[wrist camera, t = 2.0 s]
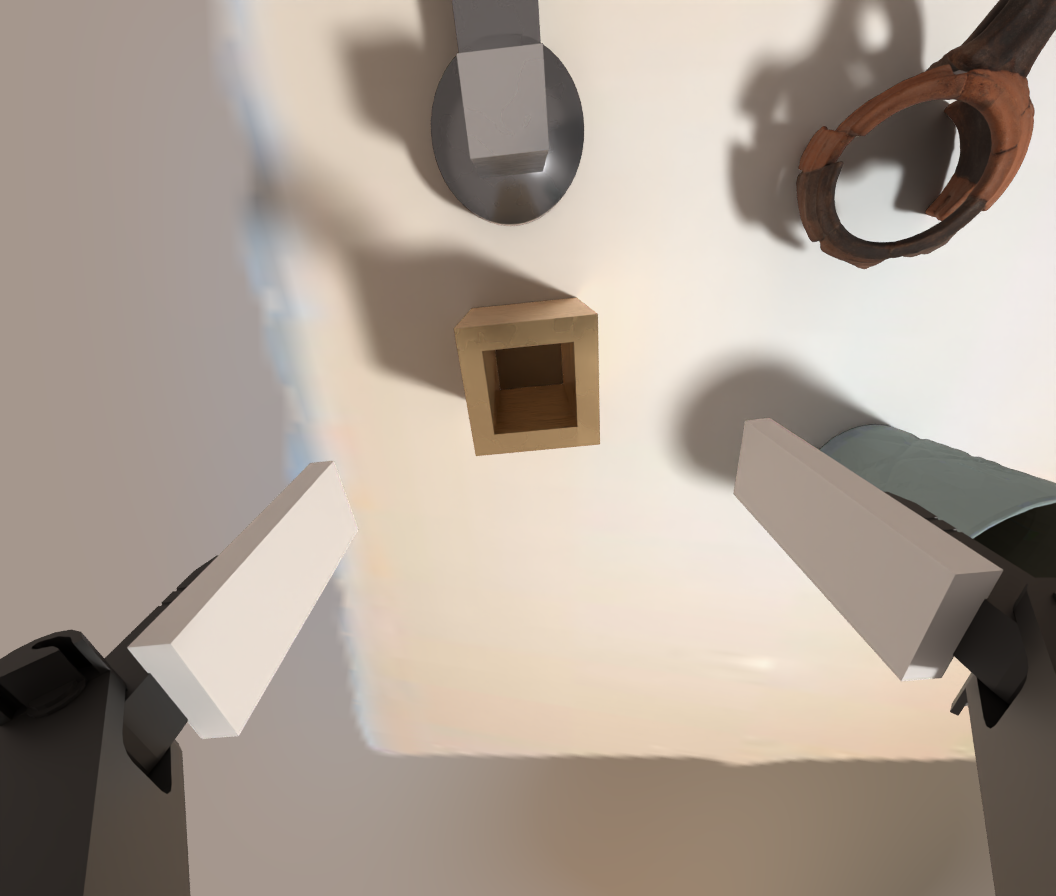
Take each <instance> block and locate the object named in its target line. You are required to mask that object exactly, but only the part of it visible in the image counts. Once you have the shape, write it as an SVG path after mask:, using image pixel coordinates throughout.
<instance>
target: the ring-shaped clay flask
mask: <svg viewBox="0 0 1056 896" xmlns="http://www.w3.org/2000/svg"><path fill="white" fill-rule="evenodd" d="M1055 30H1056V0H999V2H998V3H997V4H996V5H995V6H994V8H993V9H992V10H991V11H990V12H989V14H988V15H987V16H986V17H985V18H984V20H983V21H982V22H981V23H980V24H979V26H978V27H977V28H976V29H975V31H974V32H973V33H972V34H971V35H970V36H969V38H968V39H967V40H966V41H965V42H964V43H963V44H962V45H961V46H960V47H957V48H955V49H953V50H951V51H949V52H948V53H947V54H945V55H944V56H943V58H942V59H940V60H939V61H938V62H935V63H933V64H932V65H931V66H930V68H928V69H927V70H926V71H925V72H923V73H921V74H919V75H917V76H914V77H911V78H909V79H906V80H904V81H902V82H900V83H898V84H896V85H895V86H893V87H891V88H890V89H888V90H886V91H884V92H883V93H881V94H880V95H878V96H876V97H874V98H873V99H871V100H869V101H868V102H866V103H865V104H864V105H862V106H861V107H859V108H858V109H857V110H856V111H854V112H853V113H852V114H851V115H850V116H849V117H848V118H846V119H845V120H844V121H843V122H842V123H841V124H840V125H839V127H838V128H837V129H836V130H835V131H834V130H828V129H827V127H826V126H823V127H821V129H820V130H818V131H817V132H816V133H815V134H814V136H813V137H812V139H811V140H810V142H809V144H808V145H807V147H806V149H805V151H804V153H803V154H802V156H801V159H800V165H799V167H798V168H799V169H800V170H802V172H801V173H800V174H799V175H798V178H797V181H796V186H797V200H798V208H799V213H800V217H801V220H802V224H803V226H804V229H805V230H806V233H807V235H808V237H809V239H810V240H811V241H812V242H816V241H819V242H820V248H821V250H822V251H823V252H825V253H826V254H828V255H830V256H832V257H835V258H837V259H839V260H843V261H845V262H848V263H850V264H852V265H855V266H856V267H858V268H862V269H867V268H869V267H871V266H874V265H877V264H879V263H881V262H882V261H884V260H885V259H889V258H897V257H901V256H903V257H914V256H917V255H920V254H928V253H931V252H932V251H934V250H936V249H938V248H940V247H941V246H943V245H945V244H946V243H947V242H948V241H949V240H950V239H951V237H953V236H954V235H955V234H956V232H957V231H959V230H960V229H961V228H963V227H964V226H965V225H966V224H968V223H969V222H970V221H971V220H972V219H973V218H974V217H975V216H976V215H977V214H979V213H980V212H981V211H986V210H988V209H989V208H990V207H991V206H992V205H993V204H994V203H995V202H996V201H997V200H998V198H999V197H1000V196H1001V195H1002V194H1003V193H1004V191H1005V190H1006V189H1007V187H1008V186H1009V184H1010V183H1011V181H1012V180H1013V178H1014V177H1015V175H1016V173H1017V172H1018V170H1019V168H1020V166H1021V164H1022V162H1023V160H1024V158H1025V155H1026V153H1027V150H1028V146H1029V143H1030V140H1031V136H1032V131H1033V124H1034V119H1033V117H1034V106H1033V104H1032V102H1031V100H1030V97H1029V93H1030V91H1029V88H1028V81H1027V78H1026V77H1027V75H1028V74H1029V72H1030V70H1031V67H1032V65H1033V64H1034V62H1035V60H1036V59H1037V57H1038V55H1039V54H1040V52H1041V50H1042V49H1043V47H1044V46H1045V44H1046V43H1047V41H1048V40H1049V38H1050V37H1051V35H1052V34H1053V33H1054V31H1055ZM951 99H955V100H957V101H955V102H953V103H951V104H950V105H949V106H948V107H946V109H945V110H944V112H945V113H946V114H947V115H948V116H949V117H950V118H951V119H952V121H953V122H954V124H955V126H956V127H957V129H958V132H959V138H960V157H959V162H958V165H957V167H956V170H955V173H954V175H953V176H952V178H951V179H950V181H949V183H948V184H947V186H946V187H945V188H944V190H943V191H942V192H941V194H940V195H939V196H938V198H937V199H936V200H935V201H934V202H933V203H932V204H931V205H930V206H929V207H928V208H927V210H926V212H925V213H926V214H927V215H930V216H932V217H937V219H938V220H940V221H941V222H940V223H938V224H937V225H935V226H933V227H931V228H930V229H928V230H926V231H924V232H922V233H920V234H917V235H915V236H913V237H910V238H907V239H903V240H899V241H896V242H870V241H865V240H862V239H860V238H857V237H856V236H854V235H852V234H851V233H849V232H848V231H847V230H846V229H845V228H844V226H843V225H842V224H841V222H840V220H839V218H838V215H837V213H836V209H835V201H834V196H835V188H836V182H837V179H838V176H839V174H840V171H841V168H842V166H843V162H842V161H840V162H836V161H837V159H838V158H839V157H840V155H841V153H842V152H843V150H844V149H845V147H846V146H847V145H848V144H849V143H850V142H851V141H852V140H853V139H854V138H855V137H856V136H865V135H866V134H868V133H869V132H870V131H871V130H872V129H874V128H875V127H876V126H877V125H878V124H880V123H881V122H882V121H884V120H885V119H887V118H889V117H890V116H892V115H893V114H895V113H897V112H899V111H901V110H903V109H905V108H907V107H910V106H913V105H915V104H919V103H922V102H926V101H932V100H951ZM835 162H836V163H835Z"/></svg>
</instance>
